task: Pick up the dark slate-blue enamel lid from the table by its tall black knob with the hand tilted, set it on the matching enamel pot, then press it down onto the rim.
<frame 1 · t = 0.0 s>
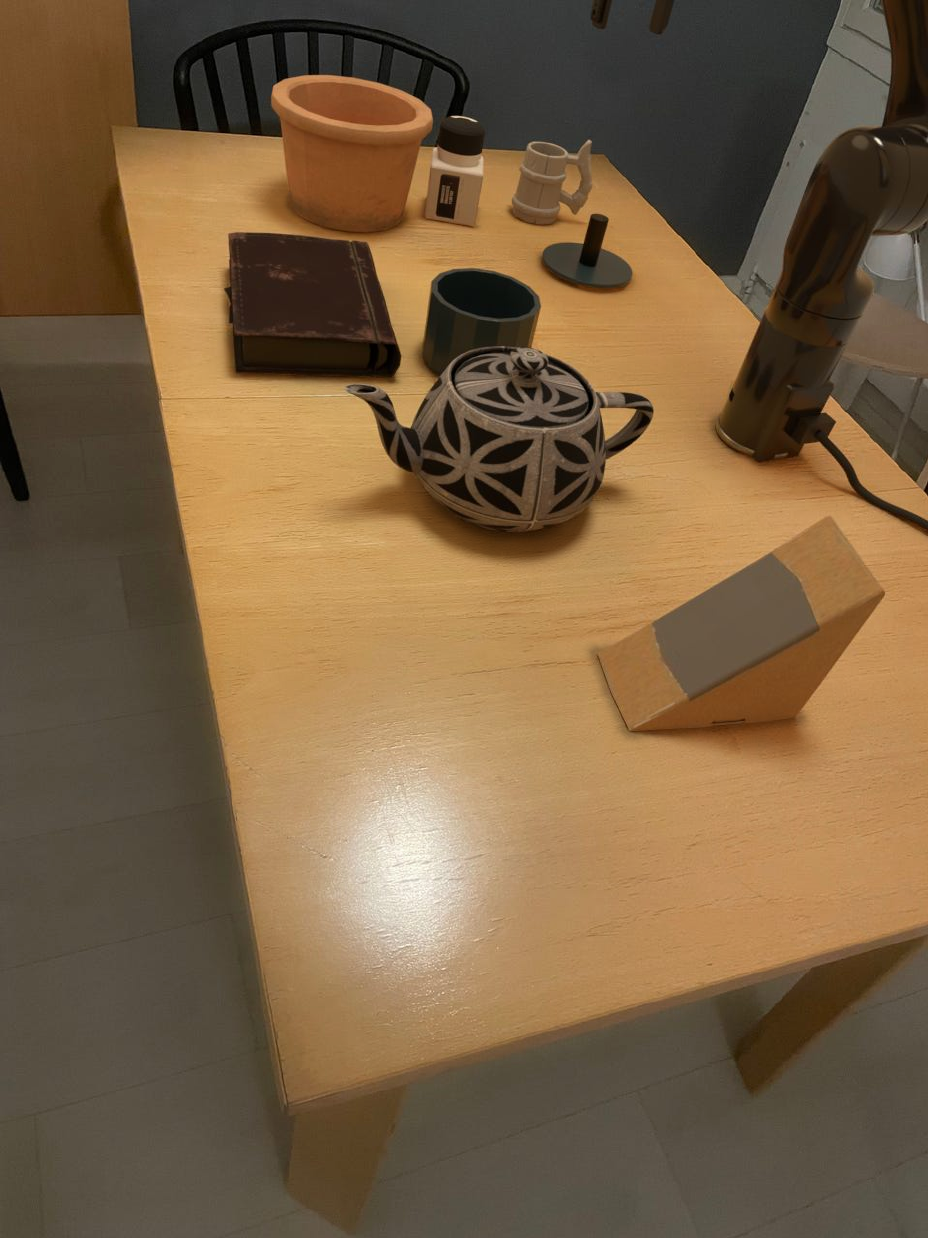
hand: (627, 29, 108), 29 cm above the table, tool pointing down, fingers open, 8 cm apart
lid: (586, 266, 127), point 1 cm above the table
container: (450, 214, 134), on the table
teapot: (488, 491, 87), on the table
pottery: (346, 210, 129), on the table
pot: (473, 361, 104), on the table
diary: (305, 322, 105), on the table
sandwich container: (693, 686, 73), on the table
mug: (545, 218, 140), on the table
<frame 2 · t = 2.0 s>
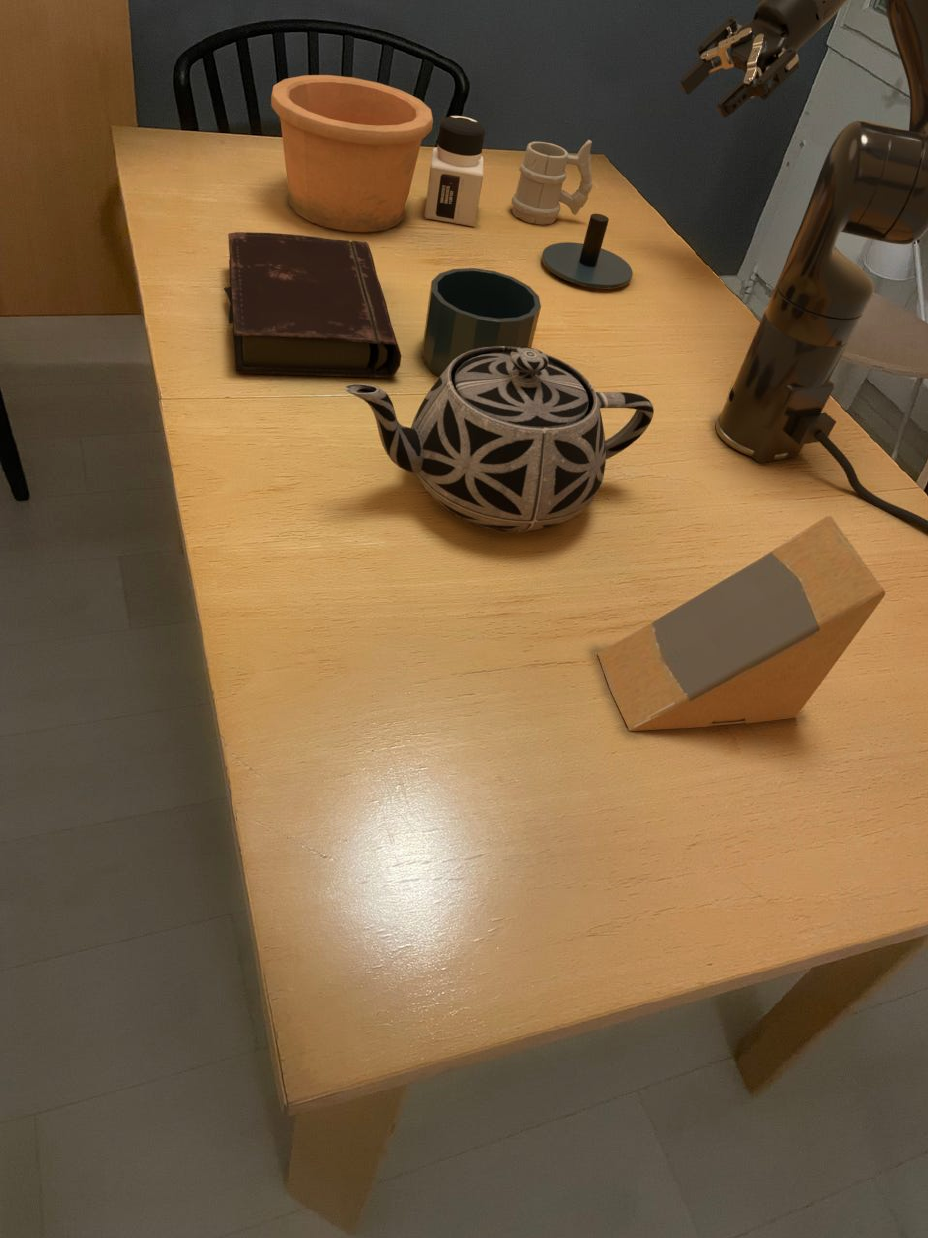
hand: (701, 99, 116), 23 cm above the table, tool tilted 45°, fingers open, 8 cm apart
nothing on the table moved.
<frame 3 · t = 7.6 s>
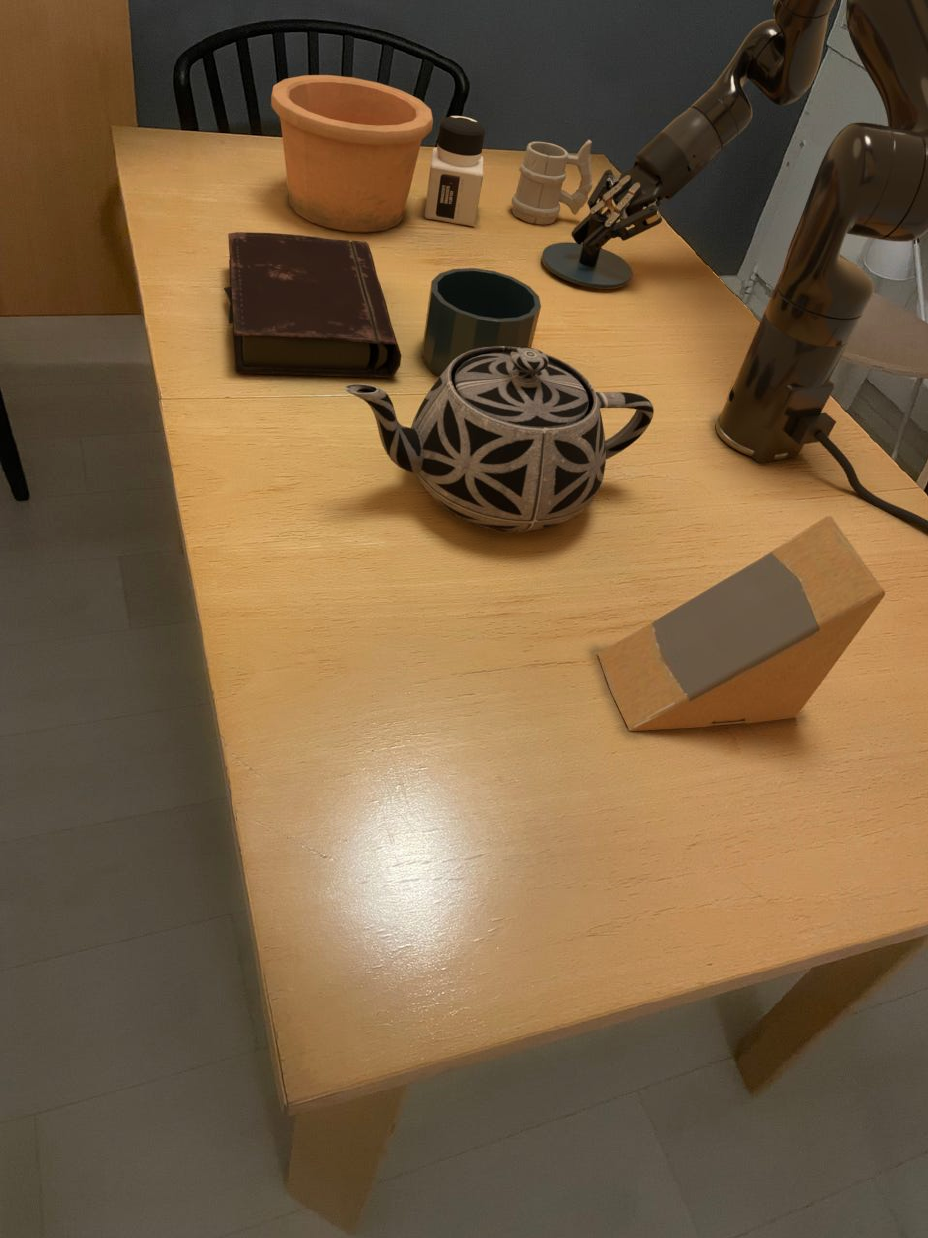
hand: (580, 244, 124), 4 cm above the table, tool tilted 45°, fingers closed on lid, 2 cm apart
lid: (586, 266, 127), point 1 cm above the table, touching gripper
everything else where it was.
when the fingers open (12 cm above the table, at t = 16.6 s): lid stays where it is, resting on pot.
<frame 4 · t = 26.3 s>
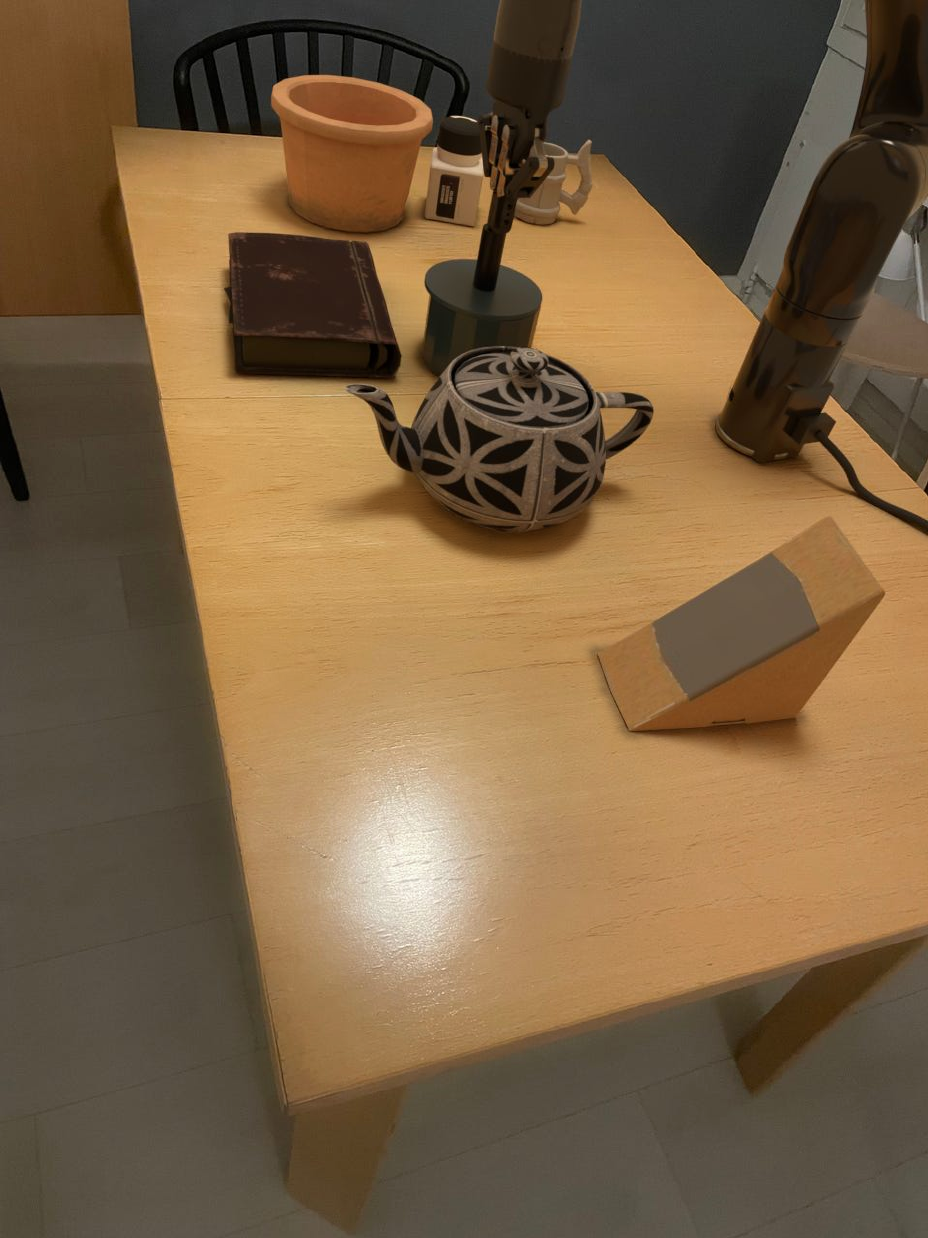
hand: (498, 229, 93), 16 cm above the table, tool pointing down, fingers closed
lid: (483, 291, 99), point 8 cm above the table, touching gripper, pot
everything else where it was.
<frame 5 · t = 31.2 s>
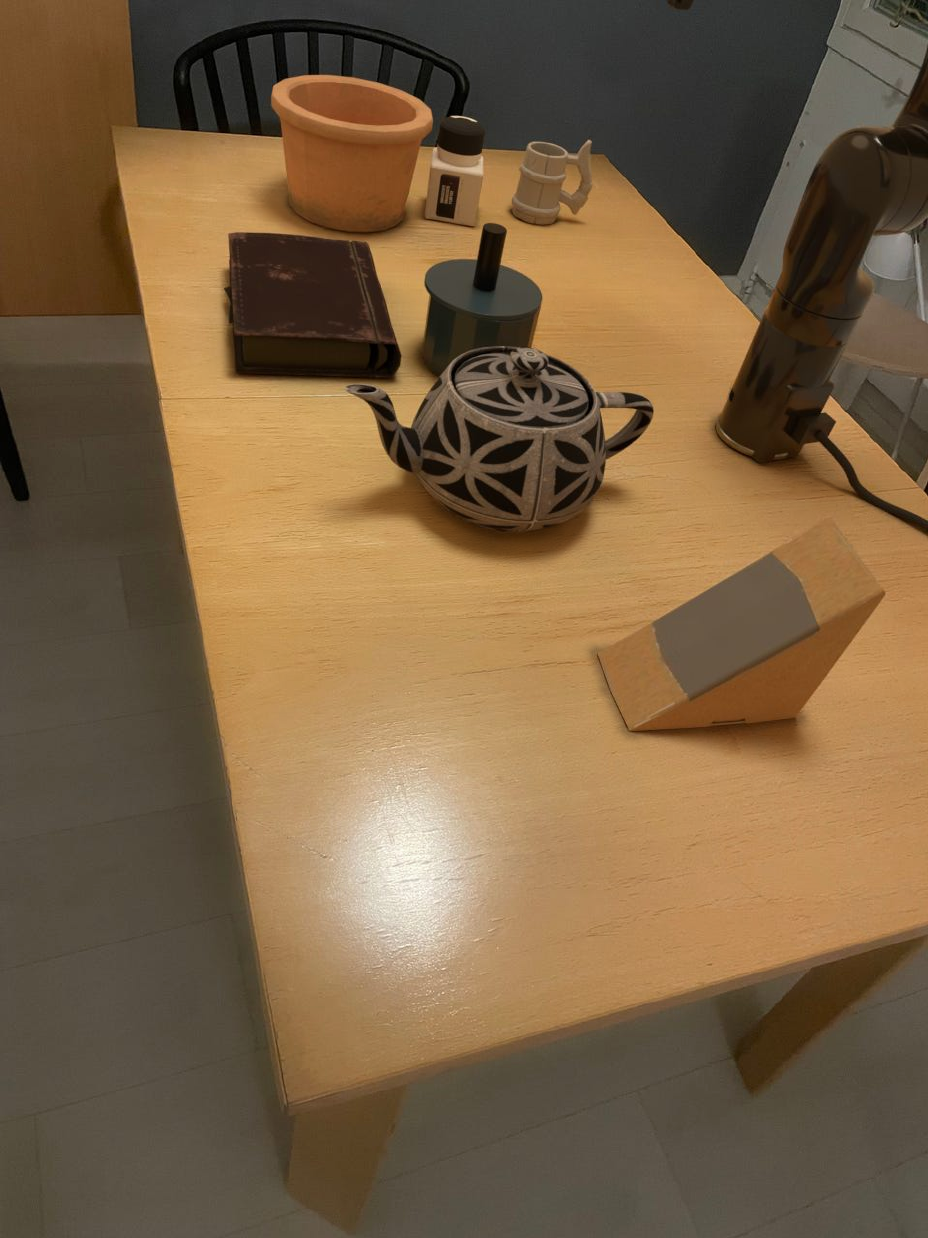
hand: (677, 6, 93), 35 cm above the table, tool pointing down, fingers closed
lid: (483, 291, 99), point 8 cm above the table, touching pot
everything else where it was.
at the end: lid 0.6 cm off-centre on the pot, point 8.5 cm above the pot's base; lid tilted 0°; the gripper is holding nothing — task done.
